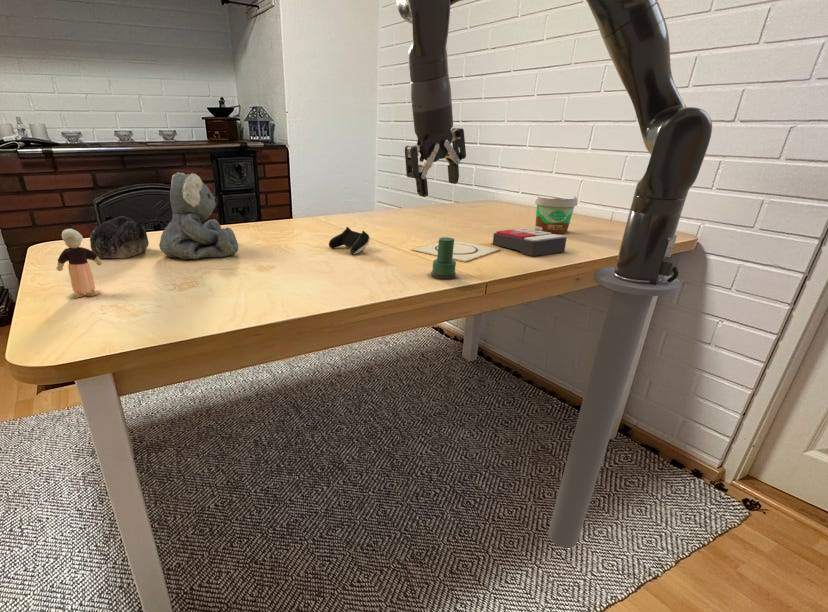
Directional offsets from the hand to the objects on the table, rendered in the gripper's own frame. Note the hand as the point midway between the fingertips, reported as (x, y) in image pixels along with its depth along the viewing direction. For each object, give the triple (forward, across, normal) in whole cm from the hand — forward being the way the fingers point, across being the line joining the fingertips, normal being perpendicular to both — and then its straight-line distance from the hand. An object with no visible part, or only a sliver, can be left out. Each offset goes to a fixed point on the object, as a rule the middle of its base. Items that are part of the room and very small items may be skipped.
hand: (438, 189), depth 99 cm
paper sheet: (+21, +12, +8) cm, 25 cm away
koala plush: (+8, -44, +44) cm, 62 cm away
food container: (+30, +49, +7) cm, 58 cm away
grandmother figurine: (+1, -70, +24) cm, 74 cm away
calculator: (+25, +28, 0) cm, 37 cm away
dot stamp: (+16, -6, -6) cm, 18 cm away
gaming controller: (+16, -10, +25) cm, 31 cm away
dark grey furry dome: (+4, -60, +55) cm, 81 cm away
